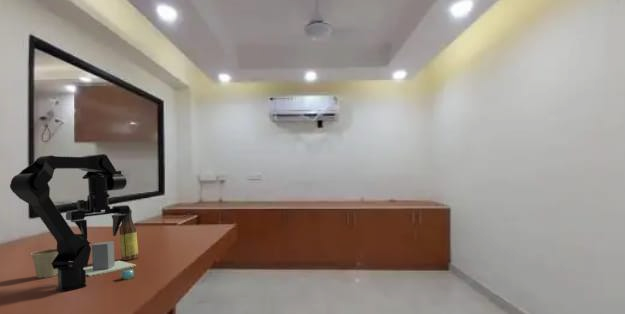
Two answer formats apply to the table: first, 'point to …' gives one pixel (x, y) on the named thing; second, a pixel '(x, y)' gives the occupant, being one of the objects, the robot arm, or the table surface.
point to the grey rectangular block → (103, 255)
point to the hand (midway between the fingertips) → (100, 238)
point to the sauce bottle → (128, 238)
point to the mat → (118, 266)
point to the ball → (127, 274)
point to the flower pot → (44, 263)
